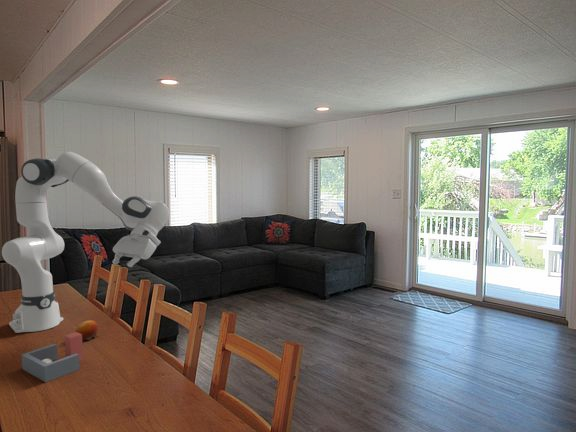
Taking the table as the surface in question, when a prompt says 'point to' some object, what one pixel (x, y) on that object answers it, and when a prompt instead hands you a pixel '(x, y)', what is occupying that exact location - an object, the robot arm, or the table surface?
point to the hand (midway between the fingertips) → (121, 264)
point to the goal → (51, 370)
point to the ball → (47, 361)
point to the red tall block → (74, 345)
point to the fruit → (87, 329)
